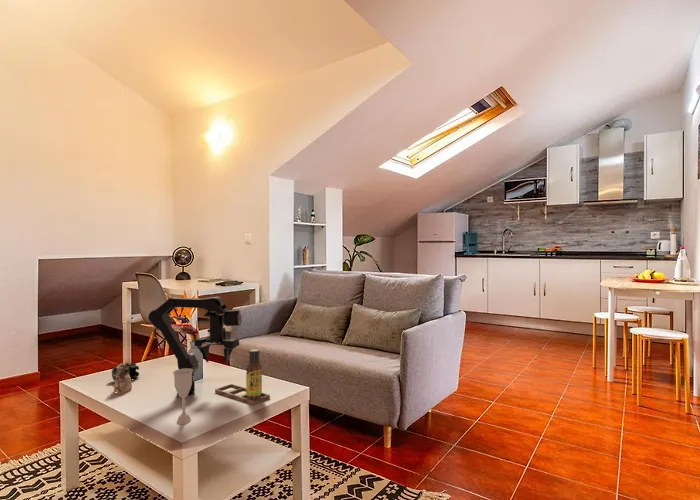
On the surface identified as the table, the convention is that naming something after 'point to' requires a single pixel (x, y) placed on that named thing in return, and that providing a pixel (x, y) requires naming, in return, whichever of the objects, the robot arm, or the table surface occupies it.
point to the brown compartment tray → (239, 394)
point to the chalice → (183, 390)
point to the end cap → (132, 373)
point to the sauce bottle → (254, 376)
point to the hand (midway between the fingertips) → (217, 362)
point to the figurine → (122, 379)
